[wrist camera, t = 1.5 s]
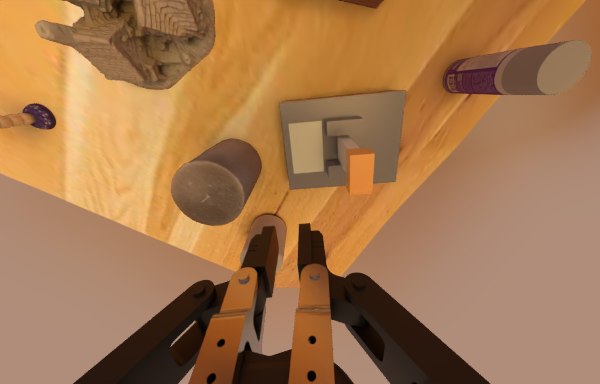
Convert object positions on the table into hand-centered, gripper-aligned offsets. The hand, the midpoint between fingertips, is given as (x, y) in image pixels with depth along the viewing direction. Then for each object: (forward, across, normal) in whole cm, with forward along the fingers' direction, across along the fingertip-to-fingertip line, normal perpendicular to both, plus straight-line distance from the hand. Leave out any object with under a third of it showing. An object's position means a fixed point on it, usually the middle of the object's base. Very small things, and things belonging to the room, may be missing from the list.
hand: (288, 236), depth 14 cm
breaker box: (+27, -7, 0) cm, 28 cm away
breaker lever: (+21, -7, 0) cm, 22 cm away
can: (+27, +8, +18) cm, 34 cm away
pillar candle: (+27, +12, +3) cm, 30 cm away
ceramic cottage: (+27, +19, -18) cm, 38 cm away
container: (+27, -26, -8) cm, 38 cm away
